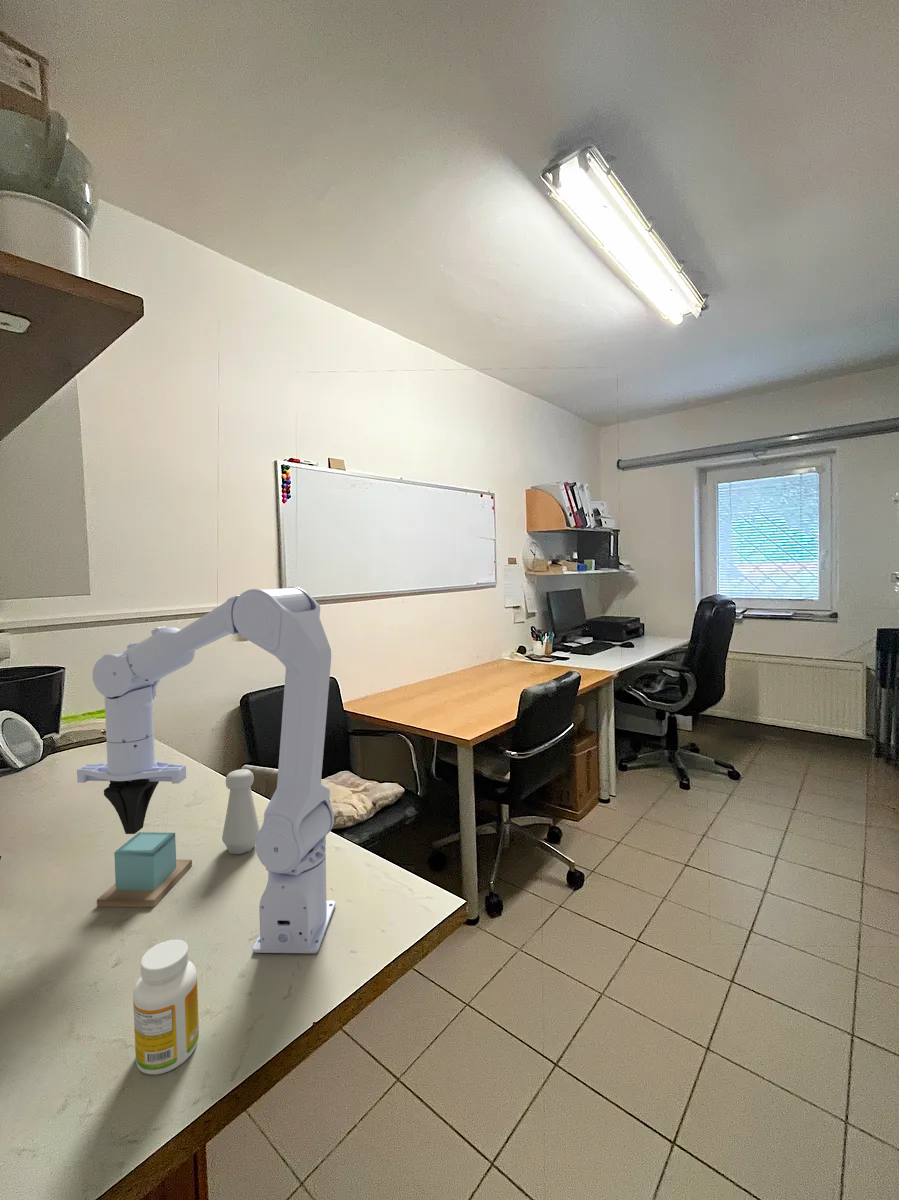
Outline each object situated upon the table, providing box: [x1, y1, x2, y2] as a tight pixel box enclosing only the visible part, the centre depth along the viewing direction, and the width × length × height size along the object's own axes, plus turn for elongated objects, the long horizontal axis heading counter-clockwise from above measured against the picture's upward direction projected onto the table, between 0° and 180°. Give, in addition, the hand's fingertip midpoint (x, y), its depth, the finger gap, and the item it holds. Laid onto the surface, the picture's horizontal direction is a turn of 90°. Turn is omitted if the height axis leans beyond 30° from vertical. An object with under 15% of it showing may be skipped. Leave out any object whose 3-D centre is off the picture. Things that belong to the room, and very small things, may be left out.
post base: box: [96, 859, 193, 908], centre depth 76 cm, size 10×8×6 cm
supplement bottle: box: [132, 939, 200, 1075], centre depth 50 cm, size 5×5×10 cm
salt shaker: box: [221, 768, 261, 855], centre depth 86 cm, size 6×6×13 cm
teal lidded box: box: [113, 831, 177, 890], centre depth 76 cm, size 6×6×6 cm
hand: (134, 830), depth 74 cm, fingers closed
